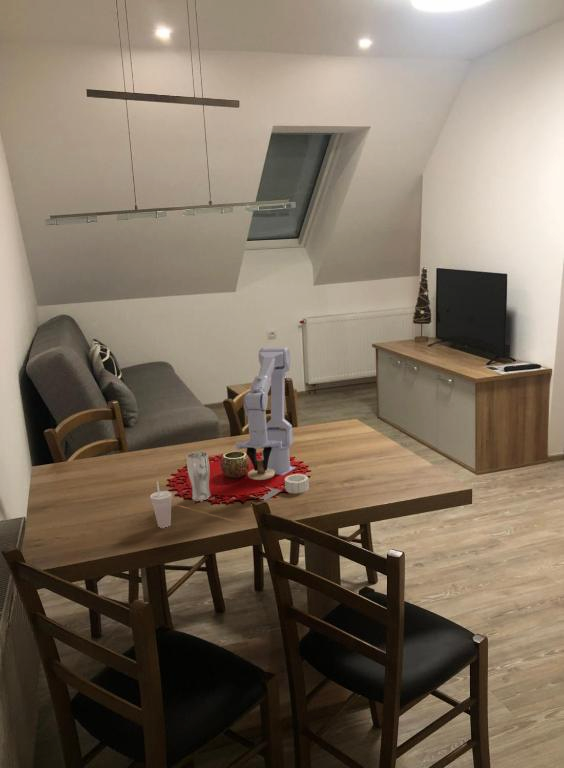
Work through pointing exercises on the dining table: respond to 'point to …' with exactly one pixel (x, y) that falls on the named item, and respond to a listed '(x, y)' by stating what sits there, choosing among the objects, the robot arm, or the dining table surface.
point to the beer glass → (199, 475)
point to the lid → (261, 472)
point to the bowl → (296, 483)
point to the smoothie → (162, 507)
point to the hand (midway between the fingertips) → (261, 469)
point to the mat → (270, 493)
